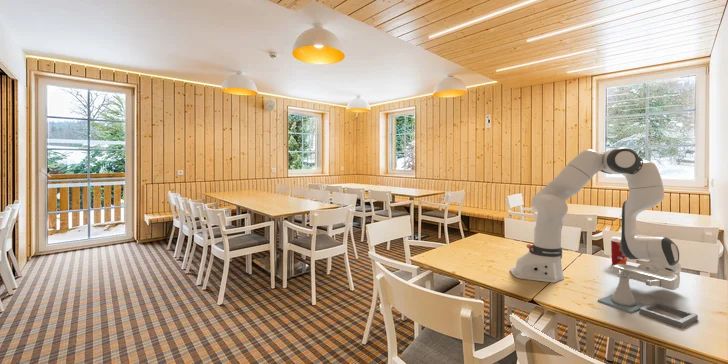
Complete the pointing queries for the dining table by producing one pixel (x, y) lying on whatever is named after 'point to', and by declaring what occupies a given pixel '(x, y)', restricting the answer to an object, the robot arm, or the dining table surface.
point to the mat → (629, 309)
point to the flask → (623, 292)
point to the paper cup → (617, 252)
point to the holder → (680, 323)
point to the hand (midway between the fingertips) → (633, 279)
